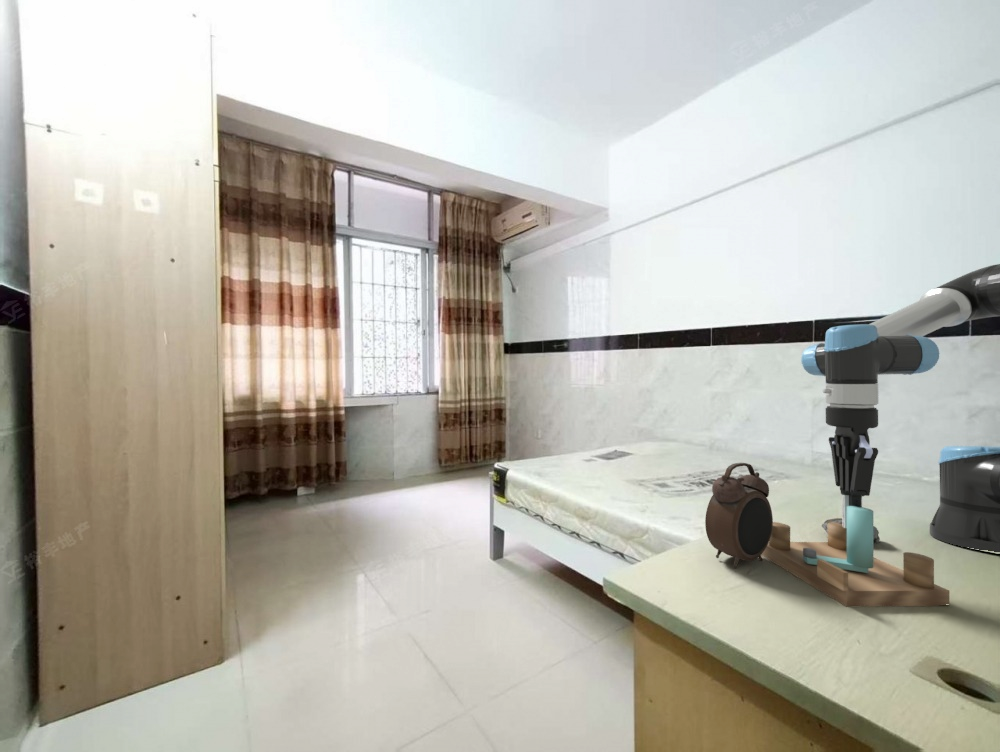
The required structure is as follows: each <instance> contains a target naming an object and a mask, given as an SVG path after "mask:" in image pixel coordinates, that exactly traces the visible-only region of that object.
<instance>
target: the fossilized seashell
mask: <svg viewBox="0 0 1000 752" xmlns="http://www.w3.org/2000/svg"><path fill="white" fill-rule="evenodd" d="M830 522H833V523H840V524H842V517H840V518H838V517H837V518H835V517H834V518H830V519H826V520H825V521H824V522H823V523H822V524H821V527H822V528H823V530H824V531H825V532H826V533H827V534H828V523H830ZM879 534H880V532H879V530H878V528H877V527H876V526H875V525H873V543H876V544H878V543H880V536H879Z"/></svg>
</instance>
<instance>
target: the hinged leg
mask: <svg viewBox="0 0 1000 752" xmlns="http://www.w3.org/2000/svg"><path fill="white" fill-rule="evenodd" d="M873 526H874V510H872V509H870V508H867V507H863V506H862V507H858V506H847V560H845V559H839V558H832V557H825V556H818V555H817V551H816V550H814V549H810V548H803V559H804V560H805V562H806V563H807V564H813V565H817V559H822V560H824V561H826V562H828V563H830V564H832V565H834V566H836V567H838V568H840V569H845V570H852V571H858V572H865V573H868V568H869V569H870V568H873V557H874V542H873Z"/></svg>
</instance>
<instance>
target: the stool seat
mask: <svg viewBox="0 0 1000 752" xmlns="http://www.w3.org/2000/svg"><path fill="white" fill-rule="evenodd" d="M803 548H810V549H814V550H816V551H817V555H818V556H825V557H832V558H839V559H845V560H847V528H844V527H843V526H842V524H840V523H833V522H830V523H828V533H827V541H808V542H807V541H791V526H790V525H789V524H786V523H782V522H776V521H773V527H772V533H771V537H770V540H769V543H768V545H767V547H766V549H765V550H764V552H763V553H762V554H761V557H762V556H763V557H764V558H766V559H768V561H770V562H772V563H774V564H775V565H777V566H778V567H781V569H784V570H785V571H787V572H788V573H790V574H791V575H794V576H795V577H797V578H798V579H800V580H802V581H804V582H805V583H807V584H809V585H810V586H812V587H814V588H815V589H817V590H818V591H821V593H823V594H825V595H827V596H828V597H830V598H831V599H832V600H834V601H835V600H836V601H837V603H840V604H842V605H843V606H845V607H846V608H847V607H940V606H939V605H946V604H950V599H951V598H950V590H949V589H947V588H945V587H942V586H940V585H938V584H935V560H934V558H932V557H930V556H928V555H924V554H921V553H916V552H910V551H909V552H907V551H905V552H903V558H902V560H903V563H902V564H903V567H902V568H903V569H901V568H899V567H896V566H895V565H892V564H890V563H887V562H885V561H883V560H881V559H878V558H876V557H875V556H873V568H870V569H869V568H868V573H865V572H858V571H852V570H845V569H840V568H838V567H836V566H834V565H832V564H830V563H828V562H826V561H824V560H822V559H817V565H813V564H807V563H806V562H805V560H804V559H803ZM950 605H951V604H950Z"/></svg>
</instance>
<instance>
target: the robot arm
mask: <svg viewBox="0 0 1000 752" xmlns="http://www.w3.org/2000/svg"><path fill="white" fill-rule="evenodd" d="M992 317H993V318H994V317H1000V263H997V264H993V265H988V266H985V267H982V268H979V269H976V270H974V271H971V272H969V273H966V274H963V275H961V276H959V277H956V278H954V279H951V280H950V281H948V282H946V283H944V284H941V285H939V286H937V287H935V288H932V289H931V290H929V291H927V292H925V293H924V294H923V295H922V296H921V297H920V299H919V300H918V301H916V302H913V303H911V304H909V305H907V306H905V307H903V308H901V309H898V310H897V311H895V312H892V313H889V314H888V315H885V316H884V317H881V318H879V319H877V320H875V321H873V322H871V323H869V324H866V323H864V324H862V323H861V324H846V325H838V326H832V327H829V329H827V330H826V332H825V336H824V337H825V338H824V339H825V340H824V342H819V343H817V344H812V345H809V346H807V347H806V348H805V349H803V352H802V354H801V357H800V358H801V359H800V360H801V365H802V368H803V369H804V371H805V372H807V374H809V375H812V376H818V377H819V376H820V377H821V376H822V377H823V376H824V377H825V388H823V389H822V392H823V393H824V394H825V403H826V404H828V405H827V406H826V407H825V423H826V424H827V426H830V427H835V431H834V435H833V436H830V437H828V442H829V447H830V449H831V458H832V459H831V460H832V466H833V473H834V480H835V481H834V482H835V486H836V487H839V490H840V494H841V515H842V516H841V518H842V526H843V527H844V528H847V506H858V507H863V497H866V496H867V497H869V496H870V494H871V488H872V480H873V477H874V476H873V475H874V470H875V469H874V468H875V461H876V459H877V457H878V454H879V449H878V448H877V447H871V445H870V441H871V440H870V436H869V431H868V430H869V429H875V428H877V427H878V426H879V409H877V407H875V406H877V405H878V404H879V377H878V376H881V375H882V376H883V375H910V376H911V375H914V374H922V373H925V372H928V371H930V370H931V369H933V368H934V367H935V366H936V365H937V363H938V361H939V359H940V350H939V349H940V348H939V347H938V345H937V344H936V342H935V341H934V340H932V339H931V338H929V337H927V335H928V334H931V333H933V332H935V331H936V330H937V331H938V330H939V329H942V328H943V327H945V328H948V327H954V326H959V325H961V324H963V323H965V322H968V321H974V320H979V319H980V320H981V319H986V318H992ZM938 465H939V506H938V508H937V510H936V512H935V513H934V516H933V518H932V519H931V522H930V524H929V535H930V536H931V537H933V538H934V539H937V540H938V541H940V542H944V543H946V544H949V543H950V545H952V544H953V545H952V546H956V545H958V546H957V547H959V546H962V547H961V548H963V547H969V548H974V549H979V550H988V551H994V552H1000V446H976V445H975V446H974V445H973V446H969V445H968V446H967V445H964V446H963V445H960V446H959V445H948V446H945V447H943V448H941V450H940V453H939V460H938Z"/></svg>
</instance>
